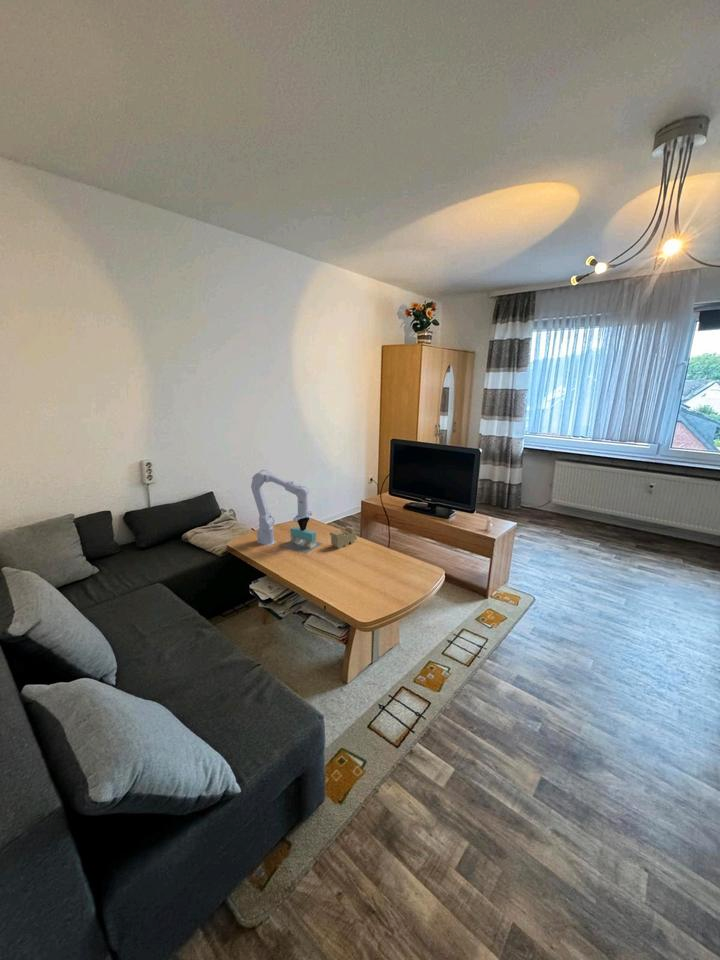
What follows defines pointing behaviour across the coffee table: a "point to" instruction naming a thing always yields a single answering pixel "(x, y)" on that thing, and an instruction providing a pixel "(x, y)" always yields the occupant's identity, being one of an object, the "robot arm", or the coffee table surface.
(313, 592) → the coffee table surface
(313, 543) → the pillar
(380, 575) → the coffee table surface
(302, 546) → the grey flat plate
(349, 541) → the toy train
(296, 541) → the pillar
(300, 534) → the teal beam
